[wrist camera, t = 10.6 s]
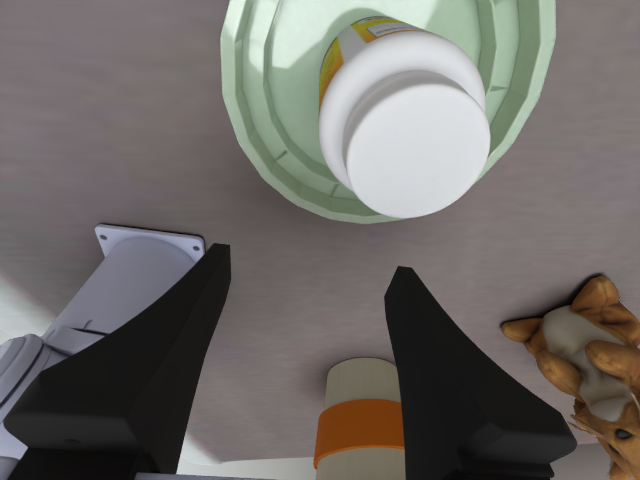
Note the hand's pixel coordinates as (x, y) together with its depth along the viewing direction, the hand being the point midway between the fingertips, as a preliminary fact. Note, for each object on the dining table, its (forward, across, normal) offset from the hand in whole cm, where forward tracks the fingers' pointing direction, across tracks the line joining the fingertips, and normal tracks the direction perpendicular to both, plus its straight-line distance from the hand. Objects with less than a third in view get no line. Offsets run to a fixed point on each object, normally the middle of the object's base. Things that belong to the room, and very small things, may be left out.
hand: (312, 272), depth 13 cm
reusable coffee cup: (+10, -10, +27) cm, 30 cm away
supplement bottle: (+9, -2, -6) cm, 11 cm away
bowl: (+10, -2, -6) cm, 11 cm away
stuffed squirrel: (+10, -28, +13) cm, 32 cm away
